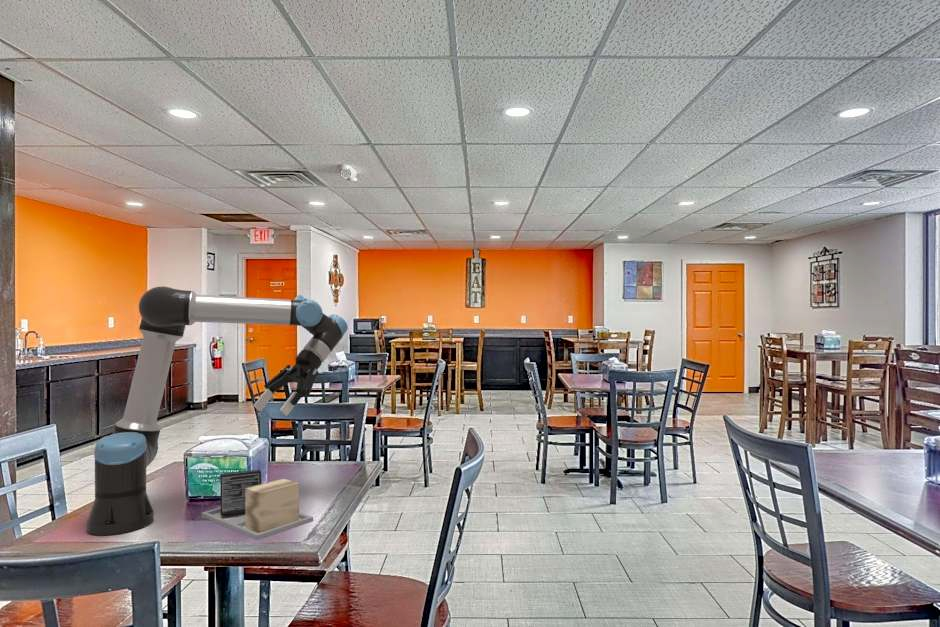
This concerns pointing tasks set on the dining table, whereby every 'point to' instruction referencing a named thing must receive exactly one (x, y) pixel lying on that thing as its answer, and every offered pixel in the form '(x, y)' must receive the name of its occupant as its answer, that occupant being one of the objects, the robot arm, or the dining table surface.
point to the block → (271, 505)
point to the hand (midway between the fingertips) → (269, 410)
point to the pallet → (238, 523)
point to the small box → (236, 489)
